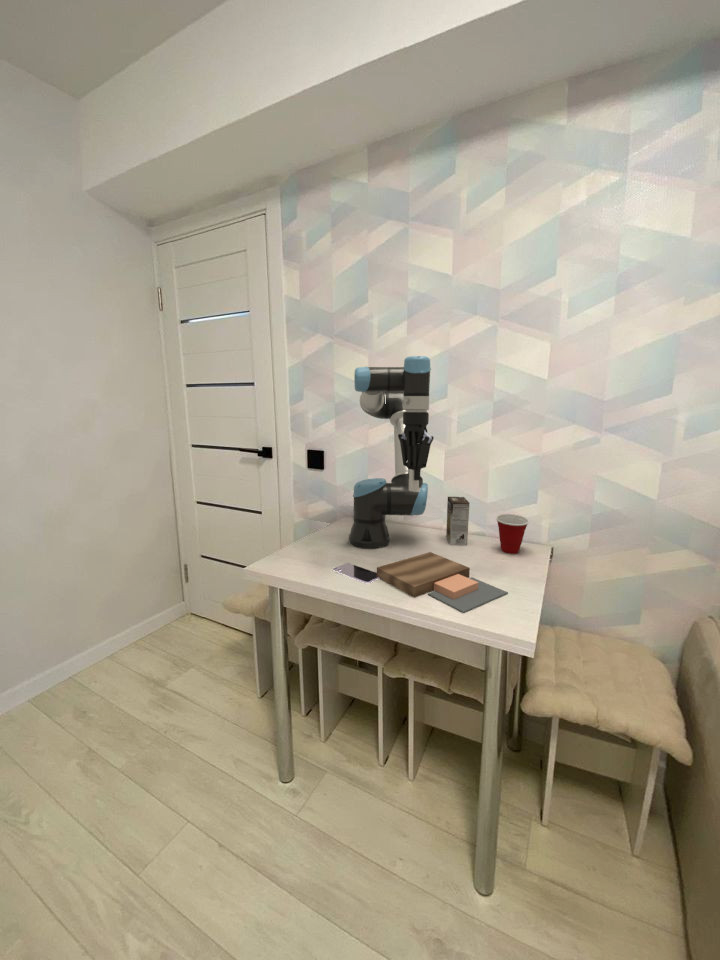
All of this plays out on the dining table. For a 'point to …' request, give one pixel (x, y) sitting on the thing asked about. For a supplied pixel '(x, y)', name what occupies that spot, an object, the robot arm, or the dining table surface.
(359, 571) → the mobile phone
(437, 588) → the coral block
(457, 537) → the coffee box
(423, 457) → the robot arm
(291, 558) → the dining table surface
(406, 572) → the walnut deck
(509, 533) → the plastic cup
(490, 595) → the rubber mat
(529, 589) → the dining table surface
